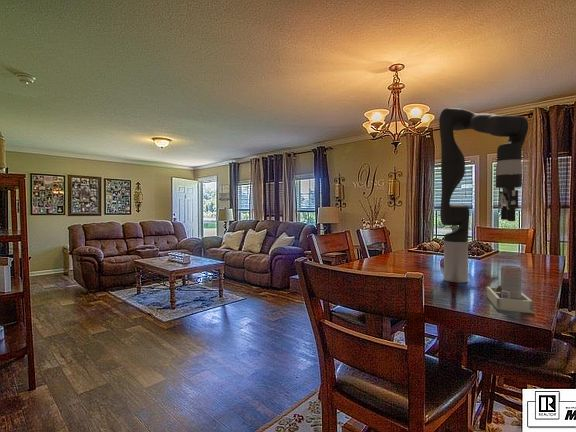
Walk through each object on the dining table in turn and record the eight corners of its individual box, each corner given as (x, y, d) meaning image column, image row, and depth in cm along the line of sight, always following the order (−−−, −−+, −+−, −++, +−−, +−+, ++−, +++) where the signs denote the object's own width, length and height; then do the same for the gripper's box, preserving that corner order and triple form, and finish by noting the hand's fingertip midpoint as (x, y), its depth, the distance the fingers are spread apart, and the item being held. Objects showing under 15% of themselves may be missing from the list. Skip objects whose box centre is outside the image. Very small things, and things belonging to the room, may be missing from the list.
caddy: (486, 296, 111) (486, 286, 110) (517, 299, 107) (517, 289, 107) (497, 309, 96) (497, 298, 96) (533, 313, 92) (533, 301, 92)
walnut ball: (494, 296, 108) (494, 282, 108) (511, 297, 106) (511, 283, 106) (498, 299, 104) (498, 285, 104) (515, 301, 102) (515, 286, 102)
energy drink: (514, 302, 100) (514, 265, 100) (525, 307, 95) (525, 268, 95) (496, 302, 101) (497, 265, 101) (506, 307, 96) (507, 268, 95)
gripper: (491, 176, 116) (490, 219, 117) (500, 172, 103) (499, 221, 104) (515, 175, 113) (514, 219, 114) (528, 171, 100) (527, 221, 101)
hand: (507, 220), depth 109 cm, fingers open, 8 cm apart
